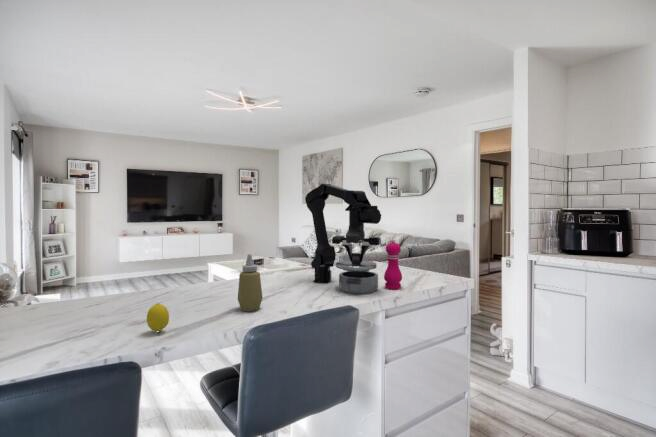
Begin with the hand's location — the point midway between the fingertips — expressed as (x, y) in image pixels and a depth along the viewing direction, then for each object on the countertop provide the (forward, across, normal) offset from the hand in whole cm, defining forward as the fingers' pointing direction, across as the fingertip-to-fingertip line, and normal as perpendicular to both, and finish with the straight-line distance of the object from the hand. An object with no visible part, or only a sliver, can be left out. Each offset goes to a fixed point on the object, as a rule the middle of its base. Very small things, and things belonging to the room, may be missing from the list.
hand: (356, 262), depth 148 cm
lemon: (+11, -41, -62) cm, 75 cm away
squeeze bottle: (+11, -27, -36) cm, 46 cm away
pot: (+11, +1, +1) cm, 11 cm away
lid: (+3, 0, 0) cm, 3 cm away
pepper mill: (+11, +14, +7) cm, 19 cm away
